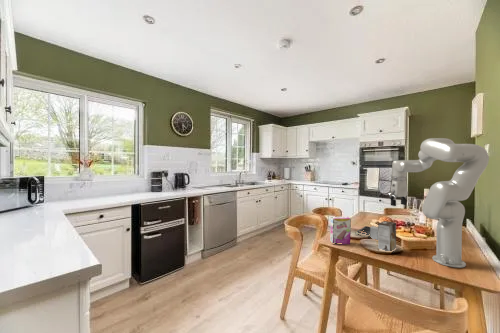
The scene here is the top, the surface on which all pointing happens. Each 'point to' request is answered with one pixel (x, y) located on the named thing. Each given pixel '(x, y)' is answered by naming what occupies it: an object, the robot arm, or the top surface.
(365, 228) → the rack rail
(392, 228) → the coffee box
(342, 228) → the candy bar box
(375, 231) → the nut block
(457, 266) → the robot arm
